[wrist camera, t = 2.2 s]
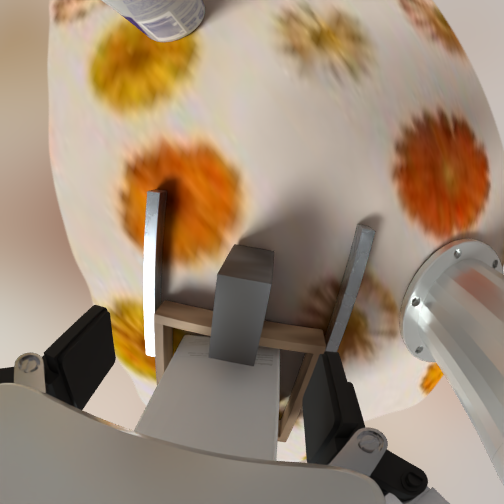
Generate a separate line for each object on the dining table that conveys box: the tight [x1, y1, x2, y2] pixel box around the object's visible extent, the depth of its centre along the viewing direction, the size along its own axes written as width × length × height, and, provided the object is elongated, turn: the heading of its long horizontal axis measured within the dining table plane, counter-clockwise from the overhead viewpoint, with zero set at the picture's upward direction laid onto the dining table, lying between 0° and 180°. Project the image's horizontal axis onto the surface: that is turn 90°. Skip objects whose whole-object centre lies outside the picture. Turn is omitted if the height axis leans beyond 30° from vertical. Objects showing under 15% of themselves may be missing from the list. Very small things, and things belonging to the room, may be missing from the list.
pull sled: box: [154, 244, 326, 442], centre depth 21 cm, size 14×20×6 cm
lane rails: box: [144, 189, 375, 357], centre depth 22 cm, size 17×15×2 cm
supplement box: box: [134, 335, 280, 461], centre depth 18 cm, size 9×9×15 cm
